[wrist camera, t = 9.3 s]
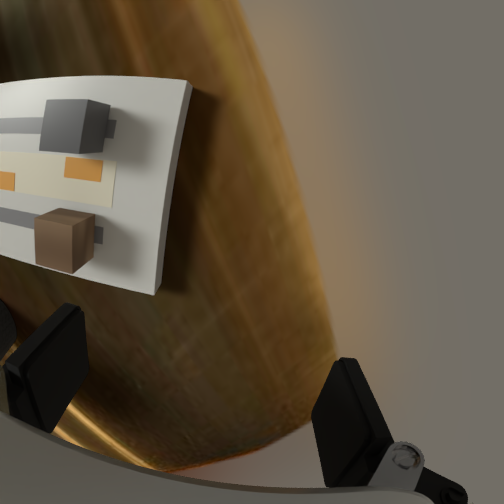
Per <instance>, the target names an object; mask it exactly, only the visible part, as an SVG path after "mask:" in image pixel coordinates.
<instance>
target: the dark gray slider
mask: <svg viewBox="0 0 504 504" xmlns="http://www.w3.org/2000/svg"><path fill="white" fill-rule="evenodd" d="M110 106H111V105H108V104H105V103H101V102H97V101H93V100H89V99H50V100H46V106H45V111H44V117H43V123H42V129H41V136H40V144H39V151H48V152H60V153H72V154H86V153H99V152H103V146H104V139H105V133H106V127H107V122H108V117H109V111H110Z"/></svg>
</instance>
